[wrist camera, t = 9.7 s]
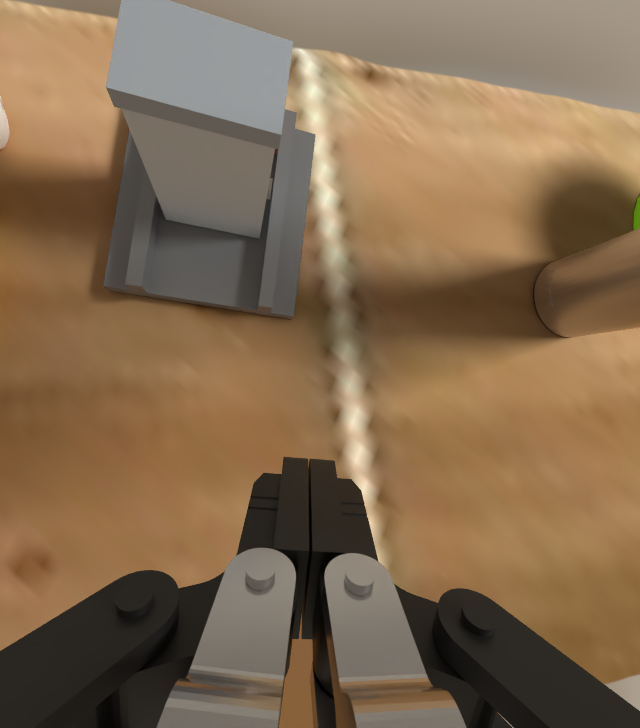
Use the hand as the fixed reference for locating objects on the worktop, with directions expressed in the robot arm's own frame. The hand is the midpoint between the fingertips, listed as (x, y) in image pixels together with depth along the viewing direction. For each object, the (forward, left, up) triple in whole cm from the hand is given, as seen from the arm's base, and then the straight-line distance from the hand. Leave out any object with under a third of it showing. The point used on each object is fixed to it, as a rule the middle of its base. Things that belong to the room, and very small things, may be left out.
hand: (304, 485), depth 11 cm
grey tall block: (+6, -19, -22) cm, 29 cm away
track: (+6, -19, -23) cm, 30 cm away
